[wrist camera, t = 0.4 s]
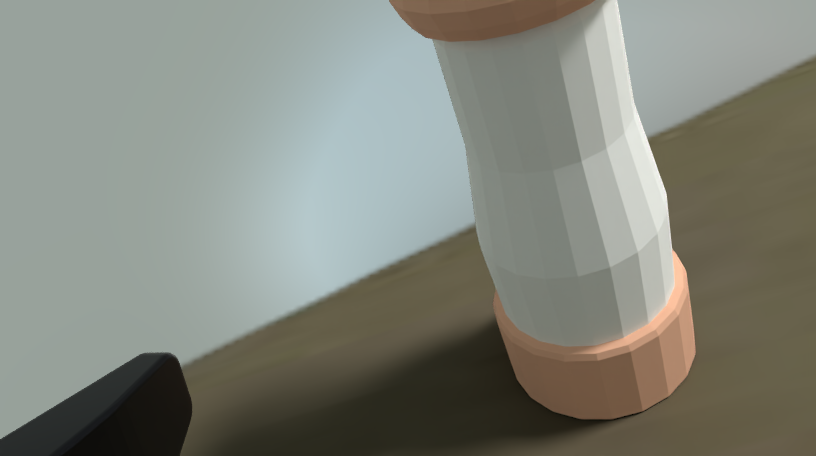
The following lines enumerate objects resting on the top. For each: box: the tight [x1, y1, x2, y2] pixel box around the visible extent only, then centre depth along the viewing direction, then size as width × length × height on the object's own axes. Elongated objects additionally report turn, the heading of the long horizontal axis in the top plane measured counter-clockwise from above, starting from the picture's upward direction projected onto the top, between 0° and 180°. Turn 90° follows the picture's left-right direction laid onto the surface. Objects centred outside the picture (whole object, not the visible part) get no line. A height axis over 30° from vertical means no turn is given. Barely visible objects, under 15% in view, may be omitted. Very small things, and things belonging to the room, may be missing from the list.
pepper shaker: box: [389, 0, 696, 419], centre depth 25 cm, size 7×7×19 cm
